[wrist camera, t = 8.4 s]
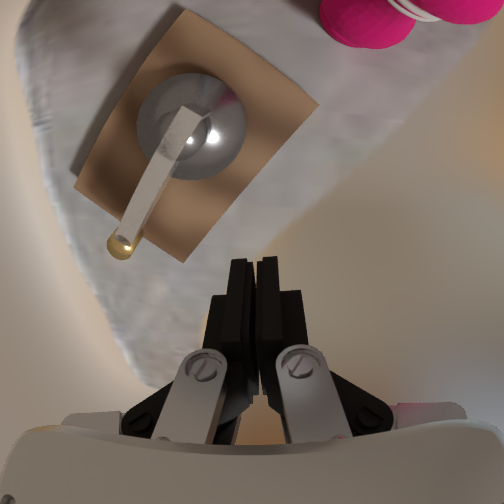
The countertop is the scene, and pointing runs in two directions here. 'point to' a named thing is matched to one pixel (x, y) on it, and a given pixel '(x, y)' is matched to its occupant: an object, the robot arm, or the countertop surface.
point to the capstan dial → (180, 144)
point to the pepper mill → (395, 18)
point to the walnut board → (209, 189)
